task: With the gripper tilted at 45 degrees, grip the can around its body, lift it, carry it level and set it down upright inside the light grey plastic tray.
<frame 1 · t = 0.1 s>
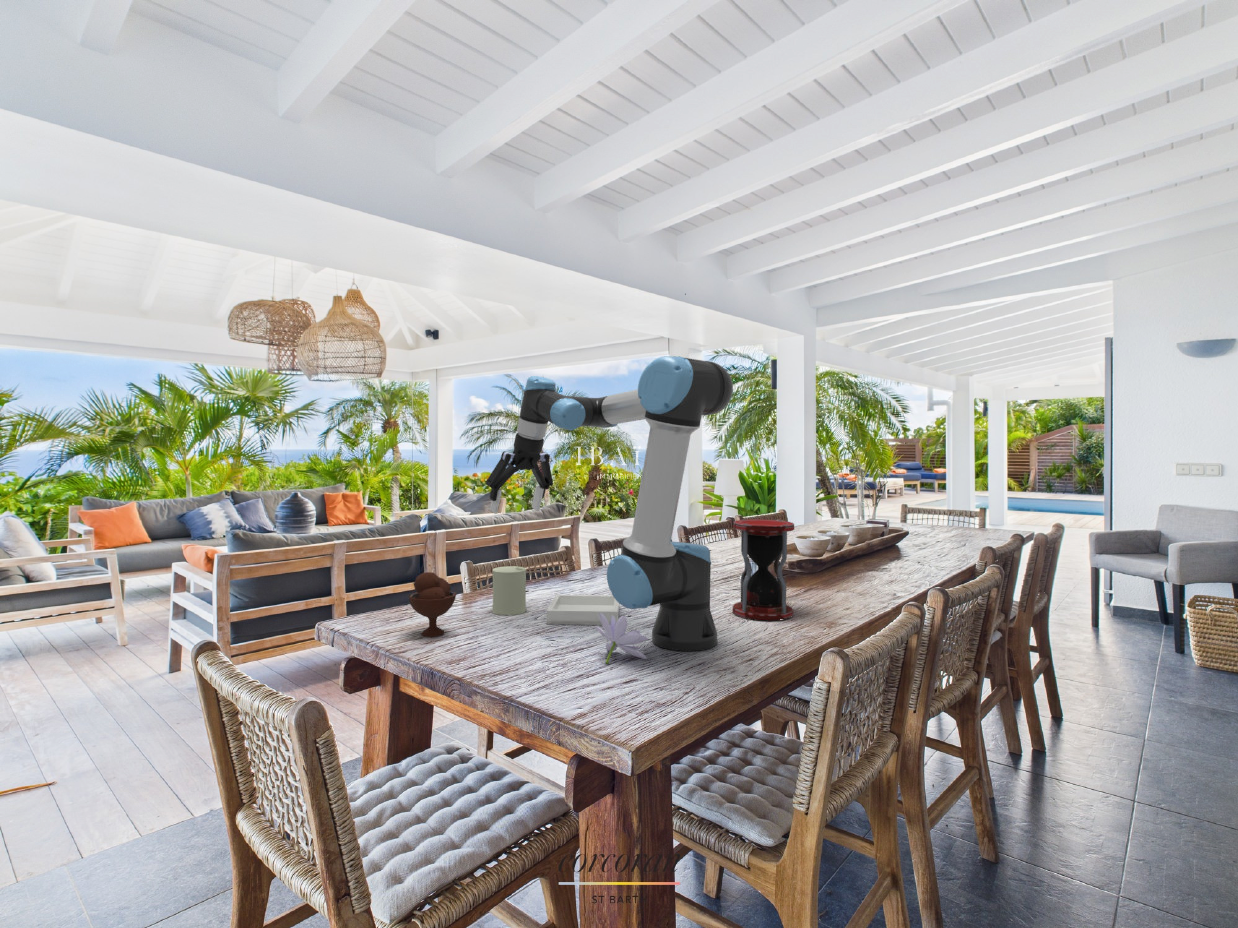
hand: (514, 510, 180), 28 cm above the table, tool tilted 20°, fingers open, 13 cm apart
ice cream bowl: (432, 634, 160), on the table
grey tray: (584, 615, 178), on the table
can: (509, 611, 182), on the table
water lily: (622, 659, 142), on the table
hourglass: (762, 614, 181), on the table
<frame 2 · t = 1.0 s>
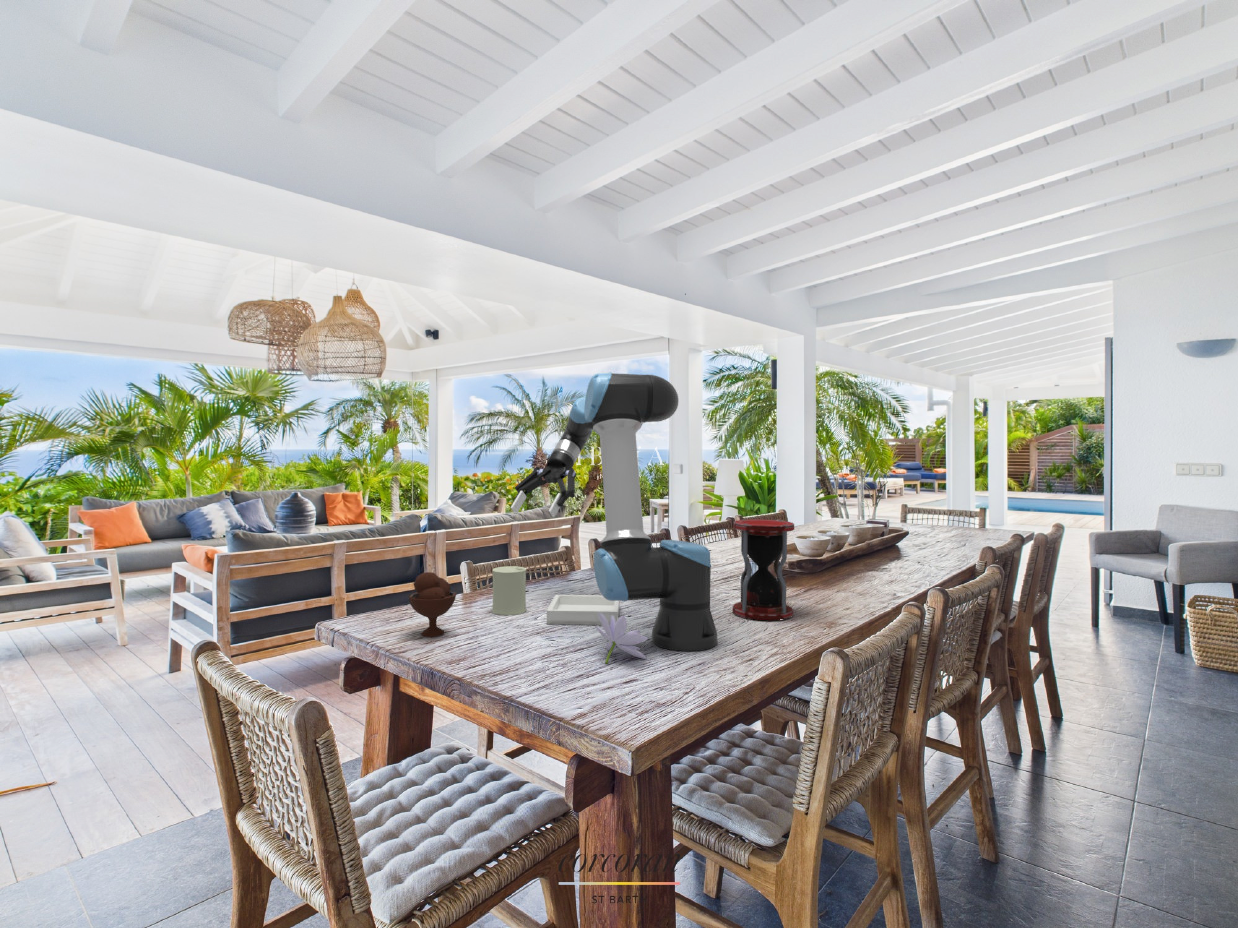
hand: (532, 512, 190), 26 cm above the table, tool tilted 45°, fingers open, 13 cm apart
nothing on the table moved.
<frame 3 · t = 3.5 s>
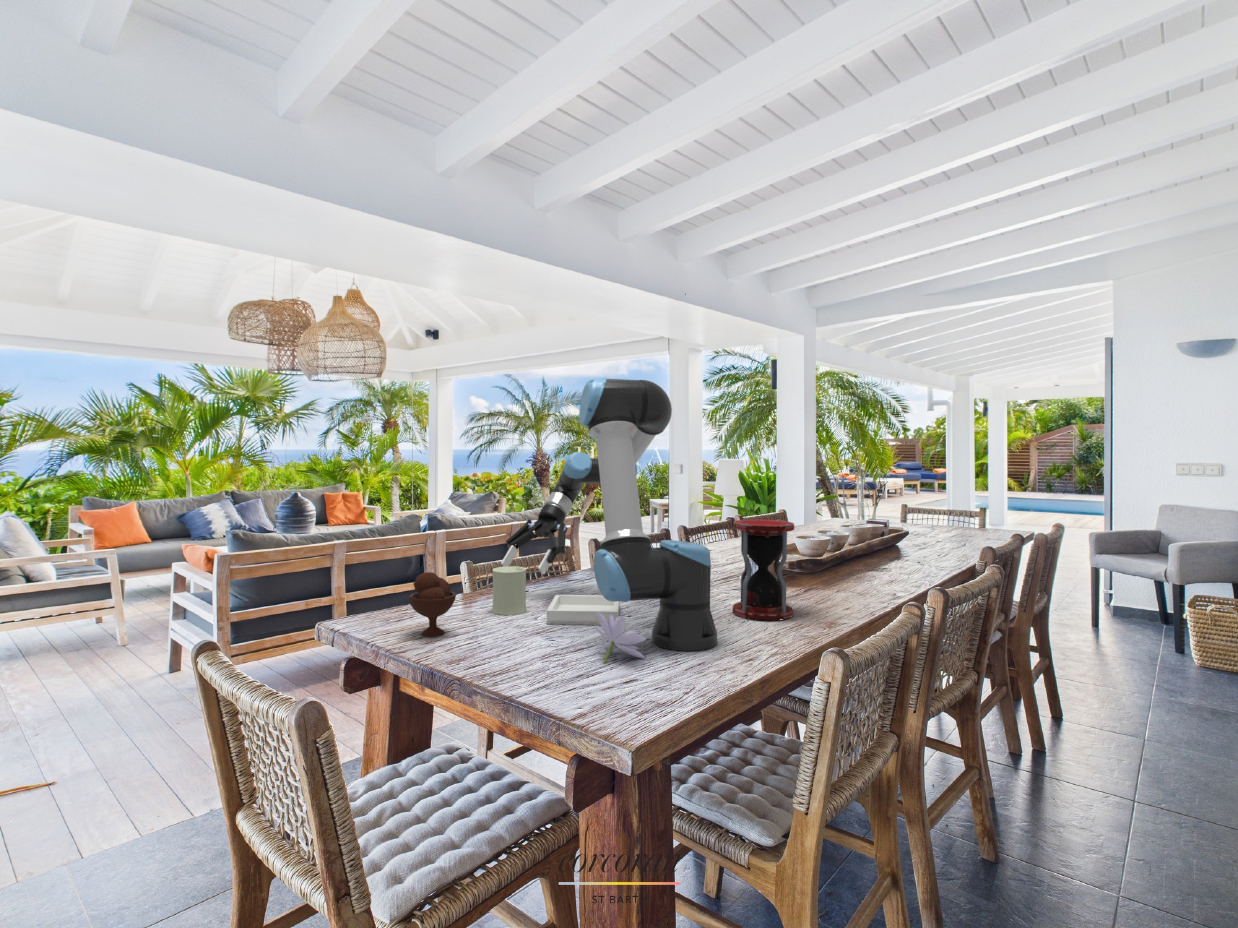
hand: (522, 568, 188), 11 cm above the table, tool tilted 45°, fingers open, 13 cm apart
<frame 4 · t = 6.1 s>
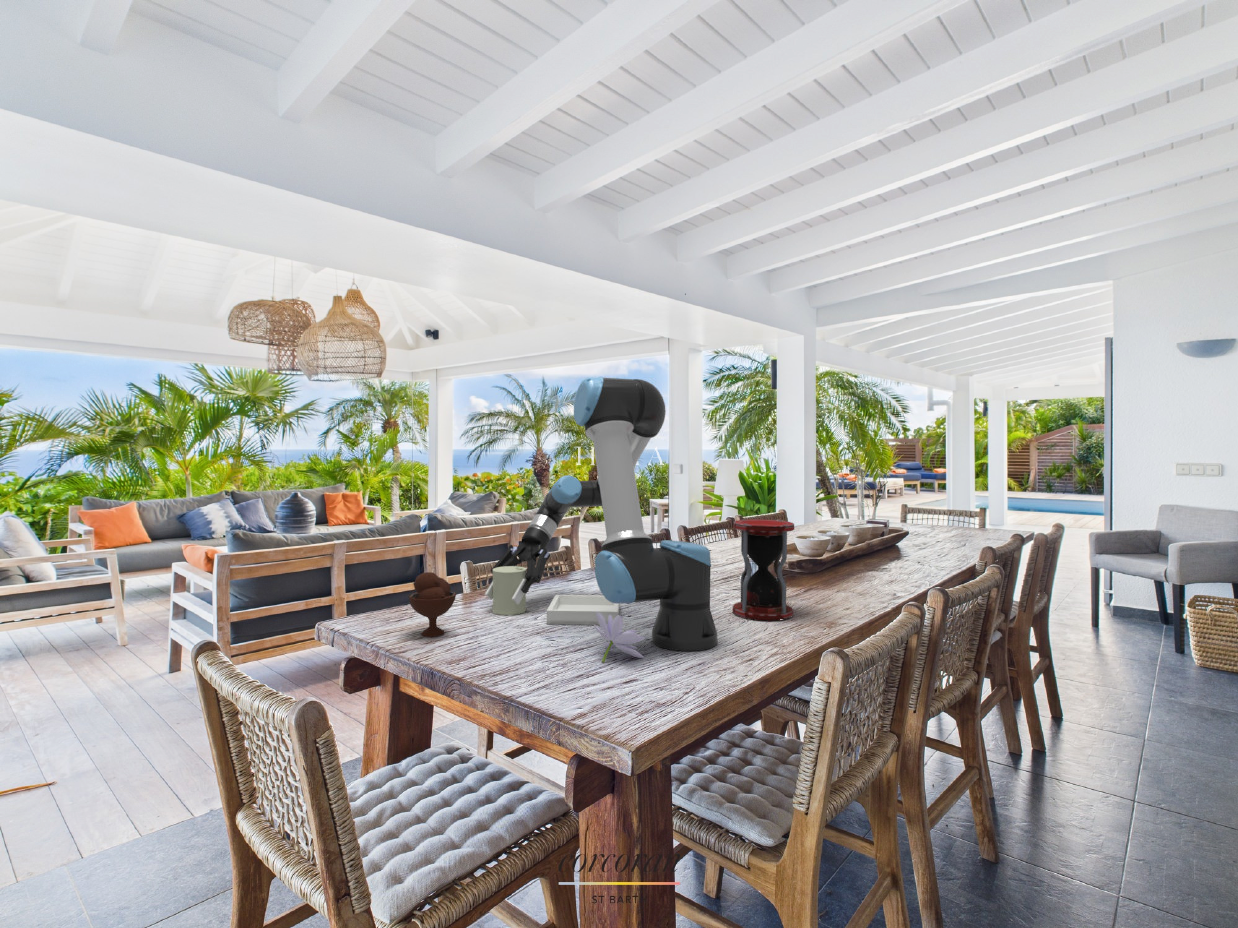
hand: (501, 599, 179), 4 cm above the table, tool tilted 45°, fingers closed on can, 9 cm apart
can: (509, 611, 182), on the table, touching gripper
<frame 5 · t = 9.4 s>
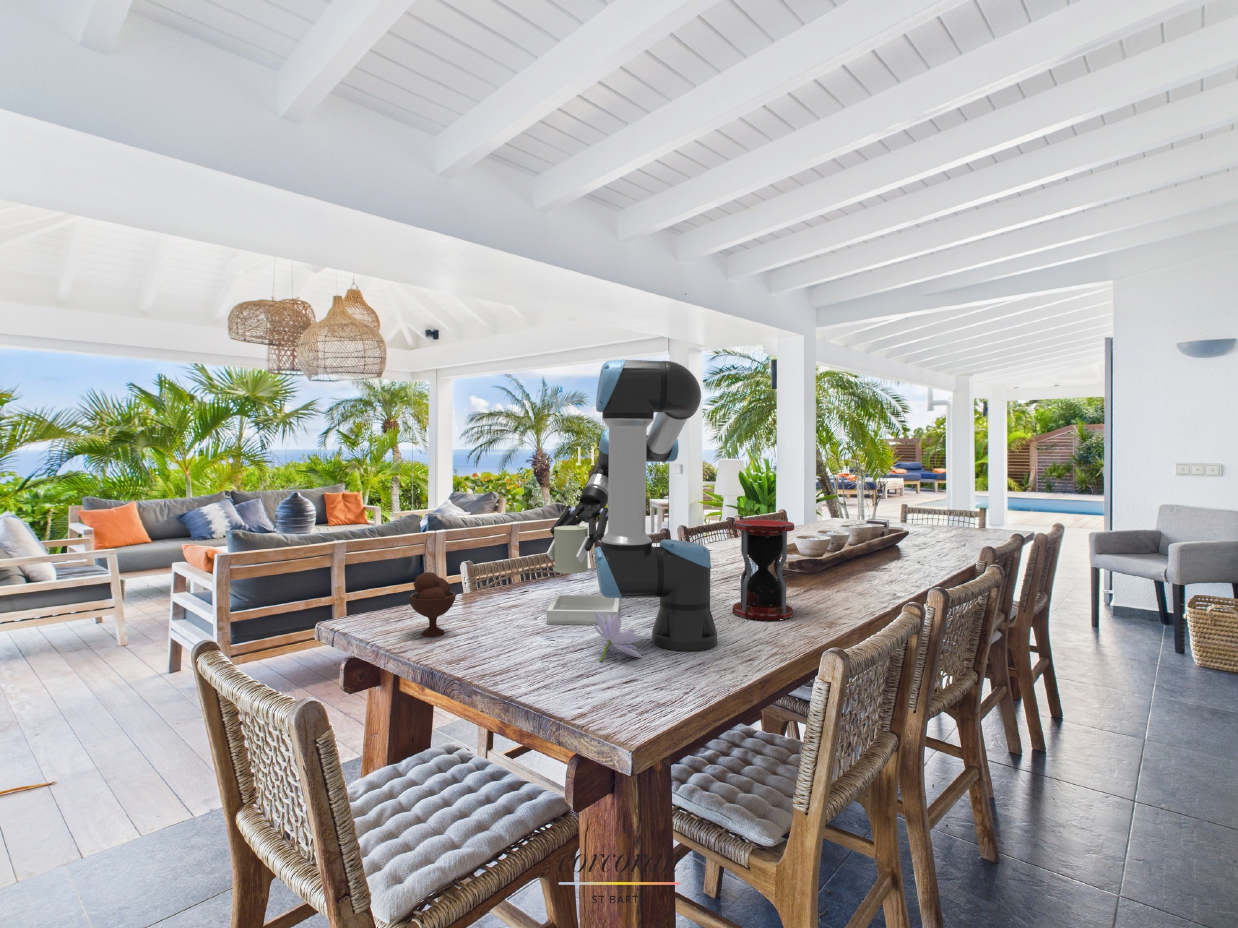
hand: (564, 557, 176), 16 cm above the table, tool tilted 45°, fingers closed on can, 9 cm apart
can: (571, 571, 179), point 12 cm above the table, touching gripper
when the fingers open (6 cm above the table, at t = 12.8 s): can drops 1 cm, resting on grey tray.
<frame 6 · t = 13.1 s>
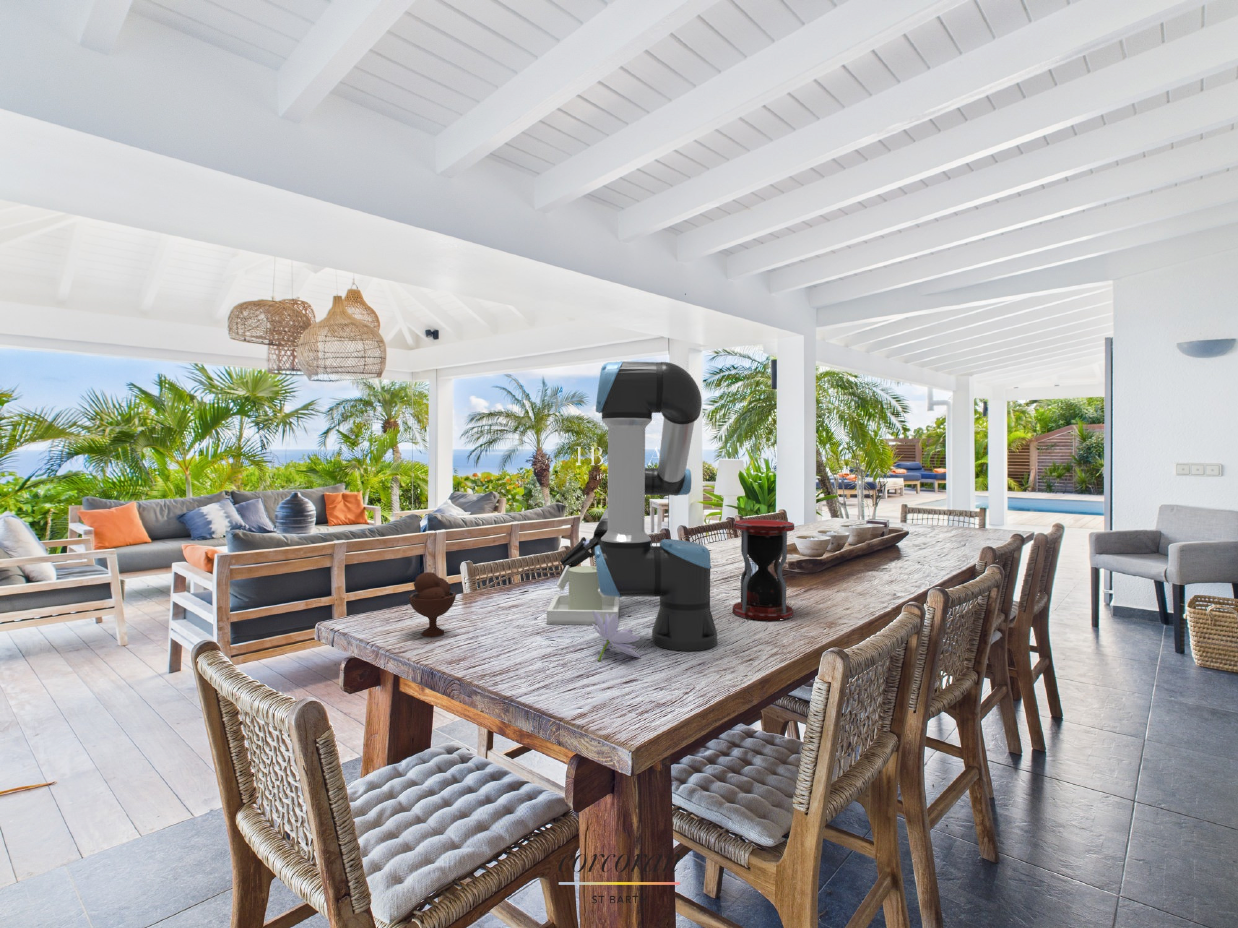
hand: (579, 591, 175), 7 cm above the table, tool tilted 45°, fingers open, 13 cm apart
can: (585, 612, 178), point 1 cm above the table, touching grey tray
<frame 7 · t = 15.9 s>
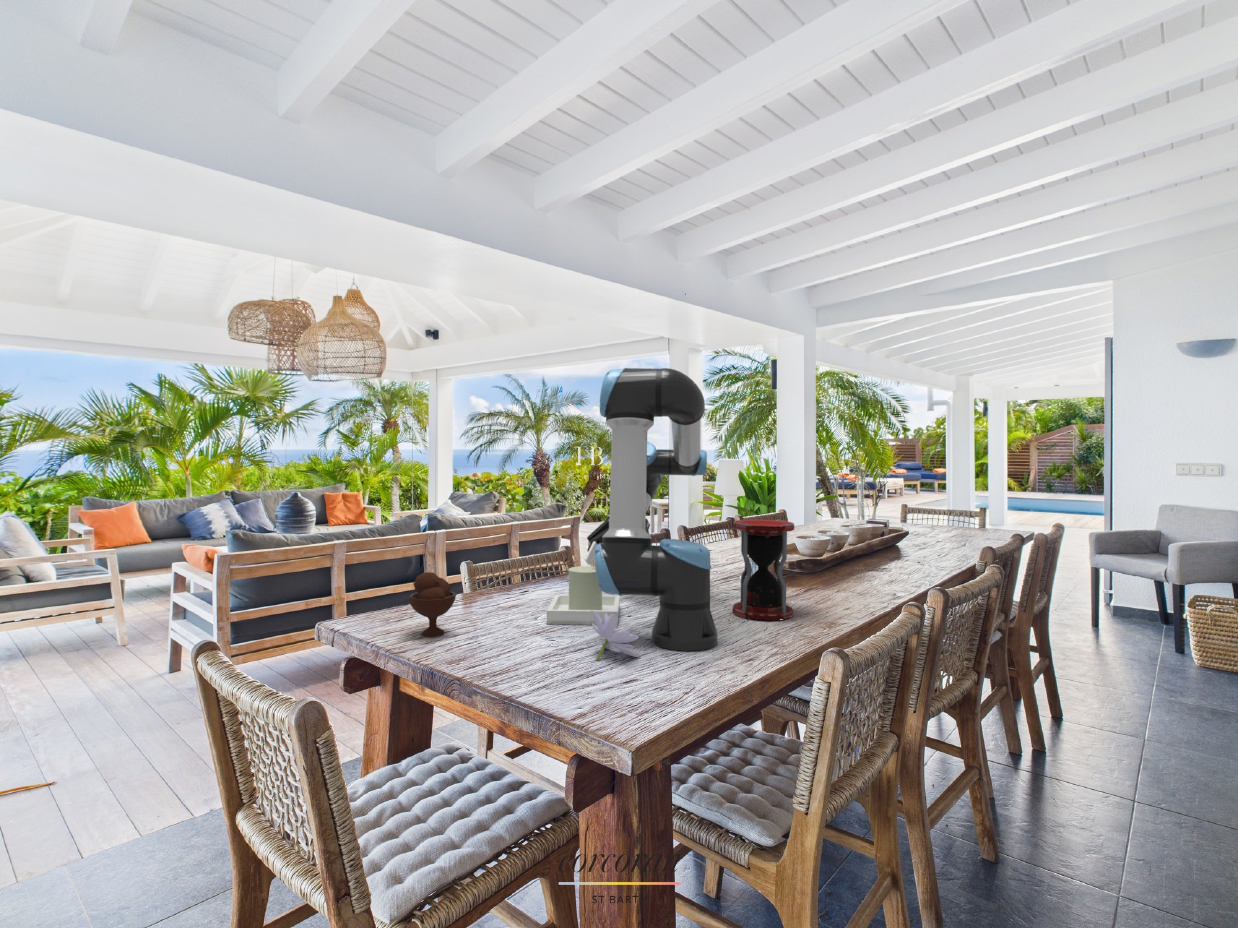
hand: (607, 564, 186), 12 cm above the table, tool tilted 45°, fingers open, 13 cm apart
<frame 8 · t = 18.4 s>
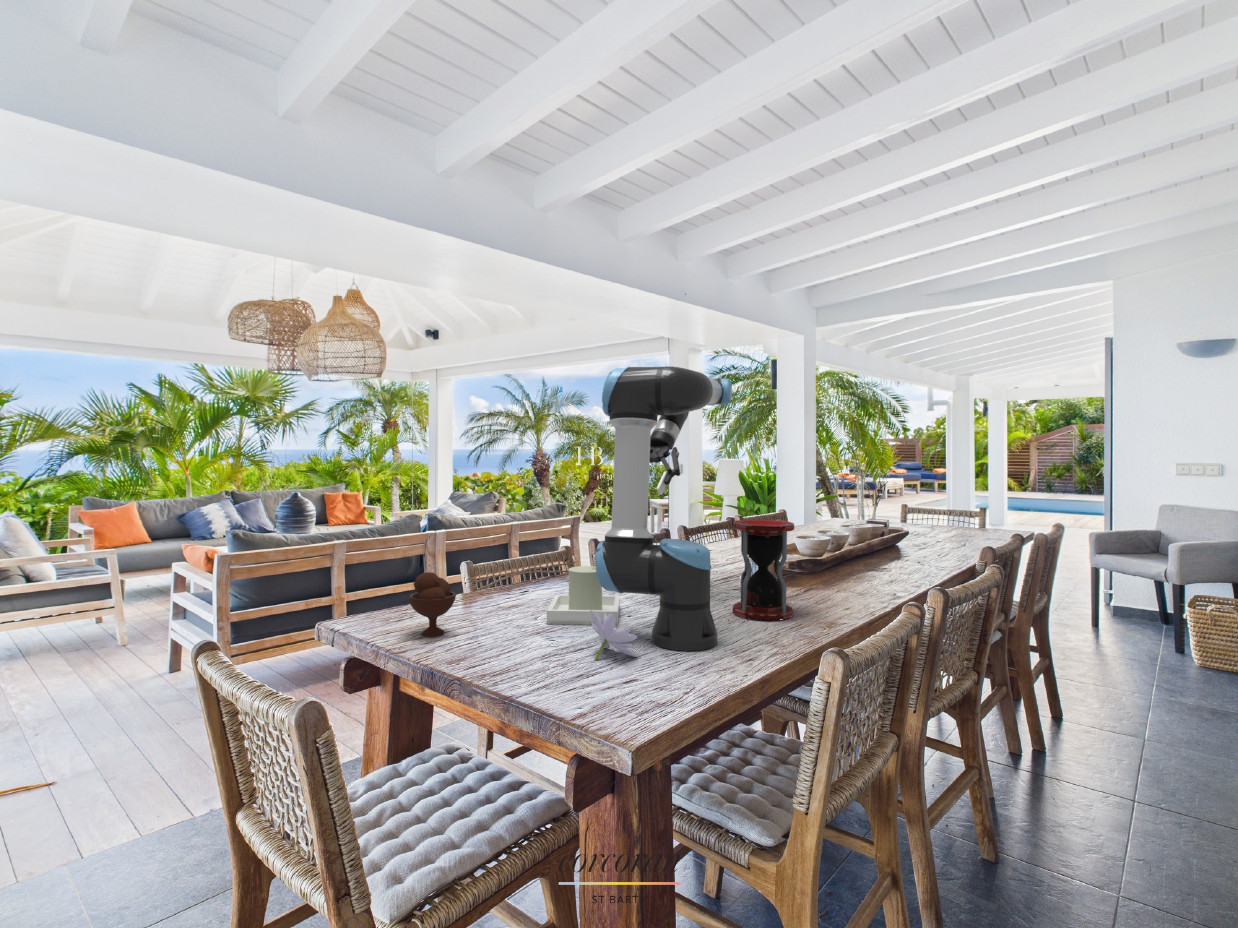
hand: (637, 490, 188), 33 cm above the table, tool tilted 45°, fingers open, 13 cm apart
at the end: can inside the target area on the grey tray (0.1 cm from its centre), point 0.8 cm above the grey tray's base; can tilted 0°; the gripper is holding nothing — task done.
